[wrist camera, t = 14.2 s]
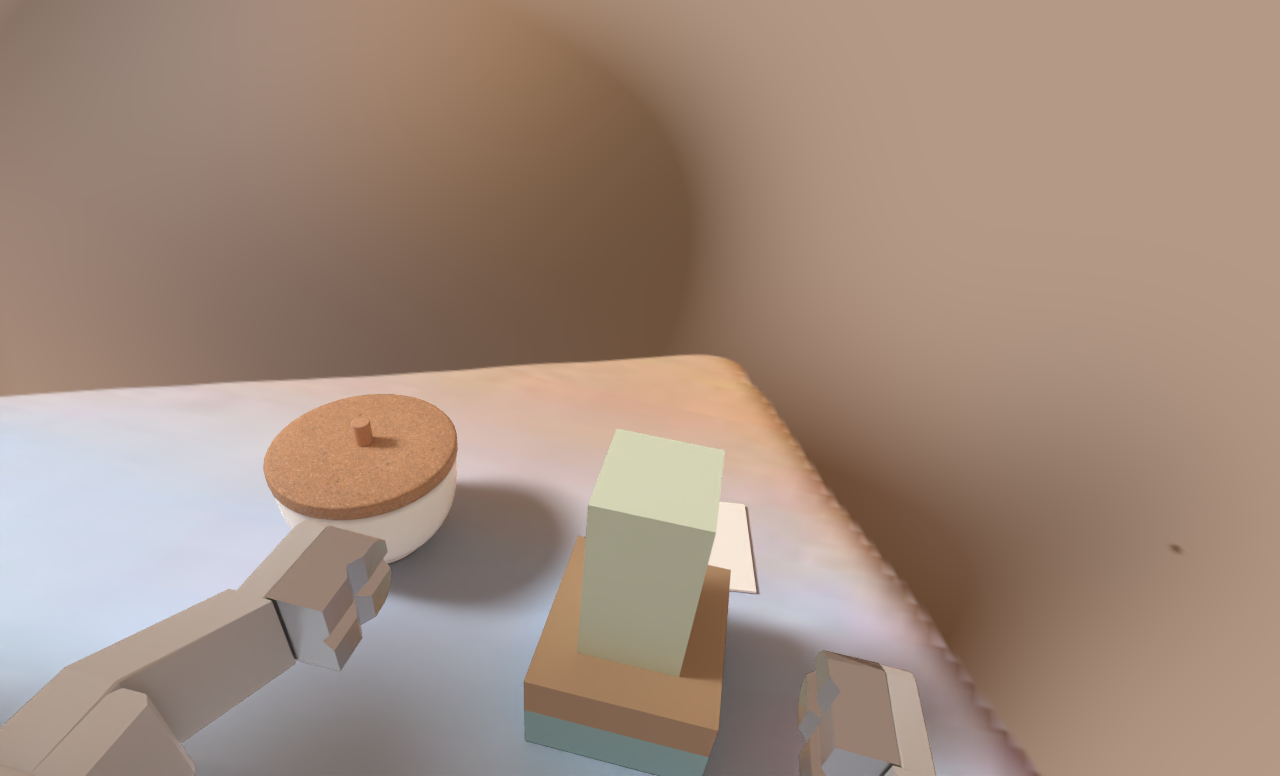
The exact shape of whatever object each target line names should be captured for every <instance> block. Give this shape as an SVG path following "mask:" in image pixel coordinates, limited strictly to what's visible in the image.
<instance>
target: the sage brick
mask: <svg viewBox="0 0 1280 776" xmlns="http://www.w3.org/2000/svg"><path fill="white" fill-rule="evenodd" d="M724 454H725V450H721V449H716V448H711V447H706V446H701V445H696V444H691V443H686V442H681V441H676V440H671V439H666V438H661V437H656V436H651V435H646V434H641V433H636V432H631V431H626V430H622V429H616V431H615V434H614V437H613V439H612V442H611V445H610V448H609V450H608V453H607V456H606V458H605V461H604V464H603V466H602V469H601V472H600V474H599V477H598V480H597V483H596V485H595V488H594V491H593V493H592V496H591V499H590V501H589V504H588V514H587V527H586V541H585V554H584V567H583V581H582V594H581V607H580V621H579V634H578V647H577V653H581V654H585V655H589V656H593V657H597V658H602V659H606V660H610V661H614V662H618V663H622V664H626V665H630V666H635V667H639V668H643V669H647V670H651V671H655V672H659V673H664V674H668V675H672V676H676V677H679V676H680V672H681V668H682V664H683V660H684V656H685V652H686V648H687V644H688V640H689V636H690V633H691V629H692V625H693V621H694V617H695V613H696V609H697V605H698V601H699V597H700V594H701V590H702V586H703V582H704V578H705V574H706V570H707V566H708V562H709V558H710V554H711V551H712V547H713V543H714V539H715V535H716V529H717V520H718V510H719V501H720V492H721V482H722V473H723V464H724Z"/></svg>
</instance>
